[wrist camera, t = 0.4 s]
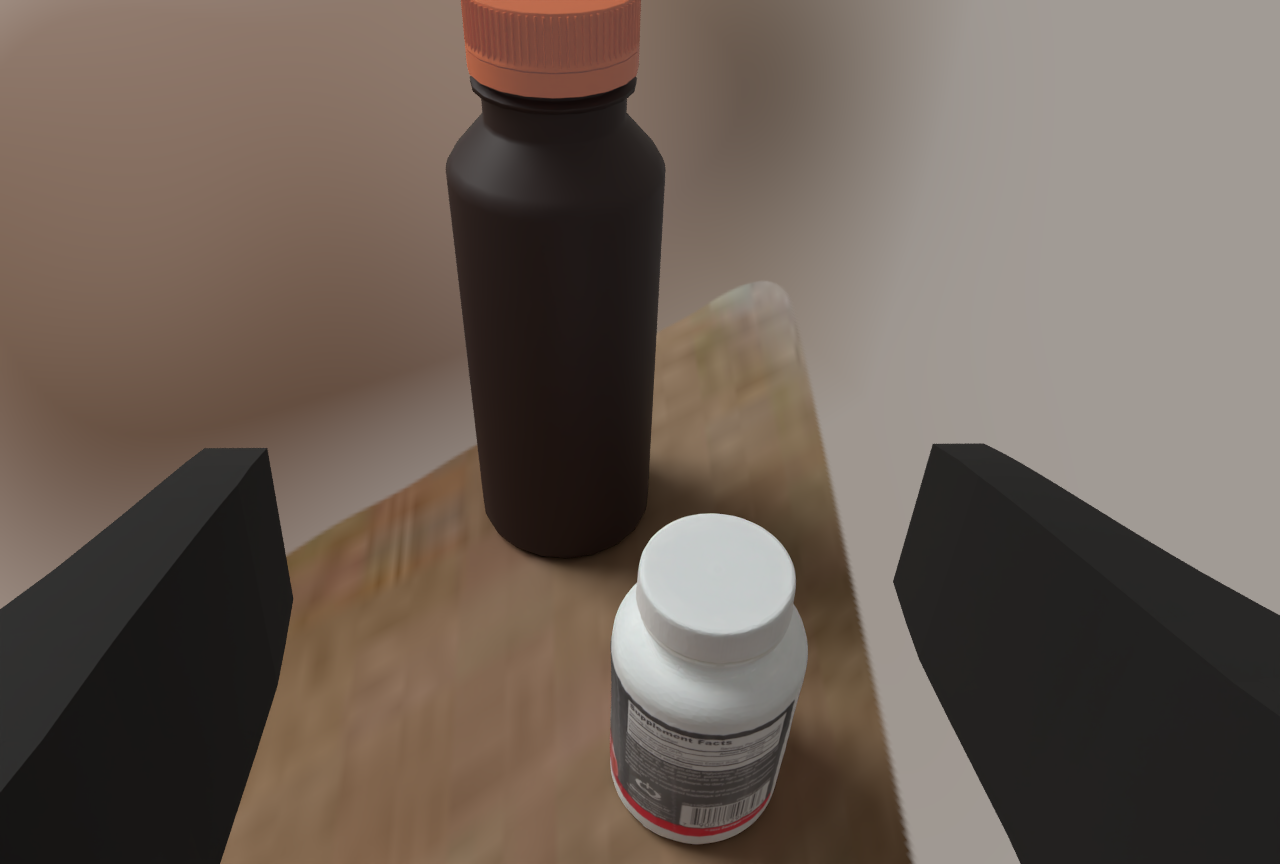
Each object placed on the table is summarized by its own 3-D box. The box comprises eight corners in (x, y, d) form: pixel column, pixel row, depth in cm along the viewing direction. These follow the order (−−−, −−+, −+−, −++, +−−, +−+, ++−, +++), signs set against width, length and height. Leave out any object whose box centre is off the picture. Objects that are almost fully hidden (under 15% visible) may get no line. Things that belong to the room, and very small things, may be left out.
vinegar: (654, 560, 36) (689, 28, 22) (479, 566, 35) (409, 25, 22) (641, 444, 41) (663, -47, 28) (488, 447, 40) (436, -50, 27)
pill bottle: (640, 673, 32) (652, 471, 25) (791, 721, 31) (844, 522, 24) (583, 815, 28) (579, 620, 22) (753, 876, 27) (803, 689, 20)
